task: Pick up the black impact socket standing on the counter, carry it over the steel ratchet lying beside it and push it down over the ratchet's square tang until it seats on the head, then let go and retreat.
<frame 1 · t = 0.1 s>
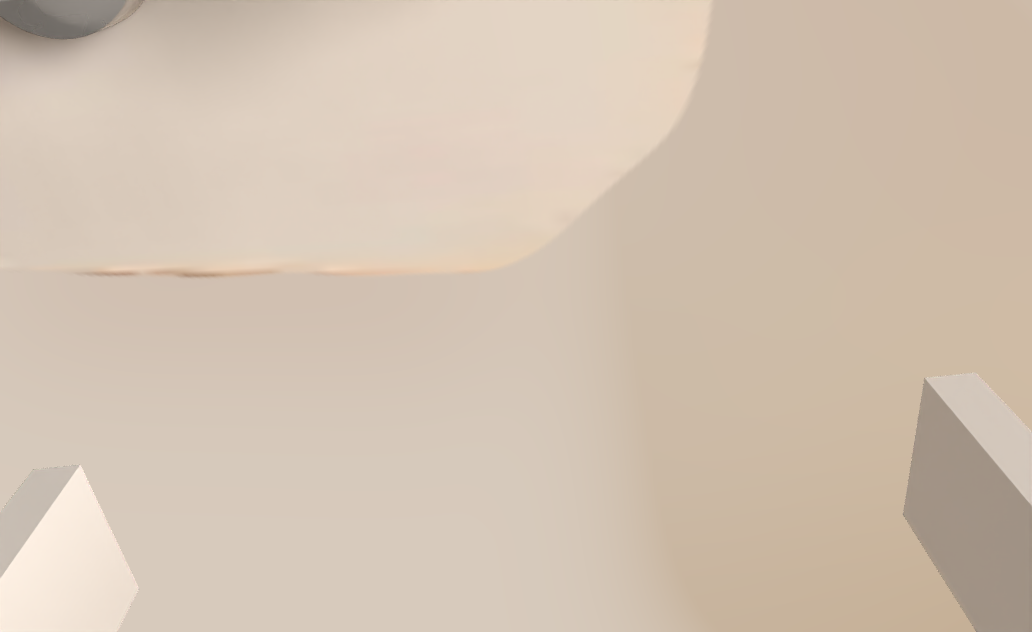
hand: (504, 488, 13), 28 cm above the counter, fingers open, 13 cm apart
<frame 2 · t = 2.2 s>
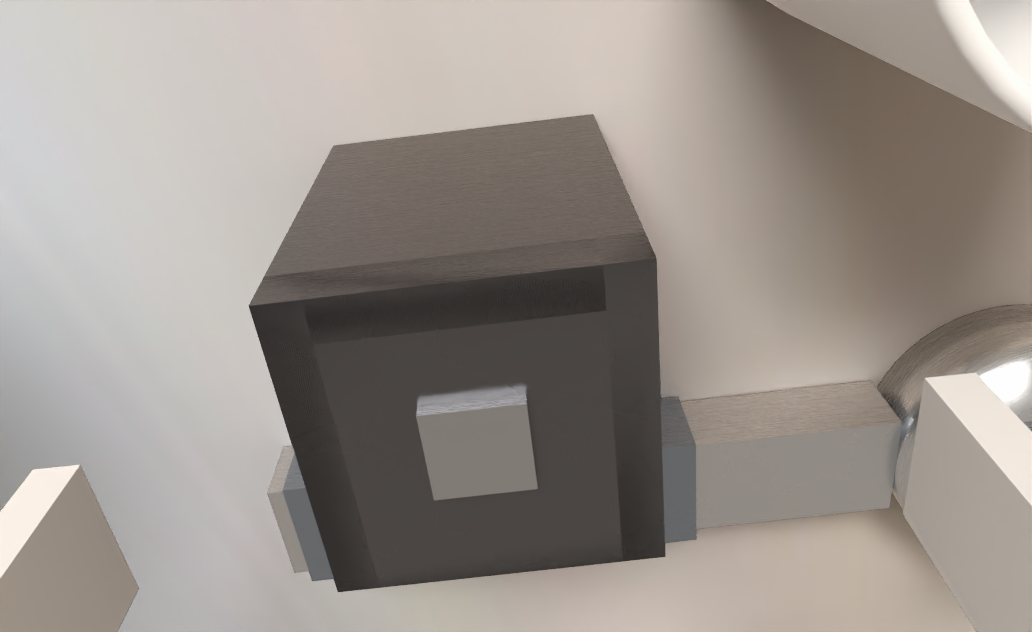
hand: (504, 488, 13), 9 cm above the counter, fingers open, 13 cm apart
socket: (480, 248, 21), on the counter
ratchet: (985, 409, 24), on the counter
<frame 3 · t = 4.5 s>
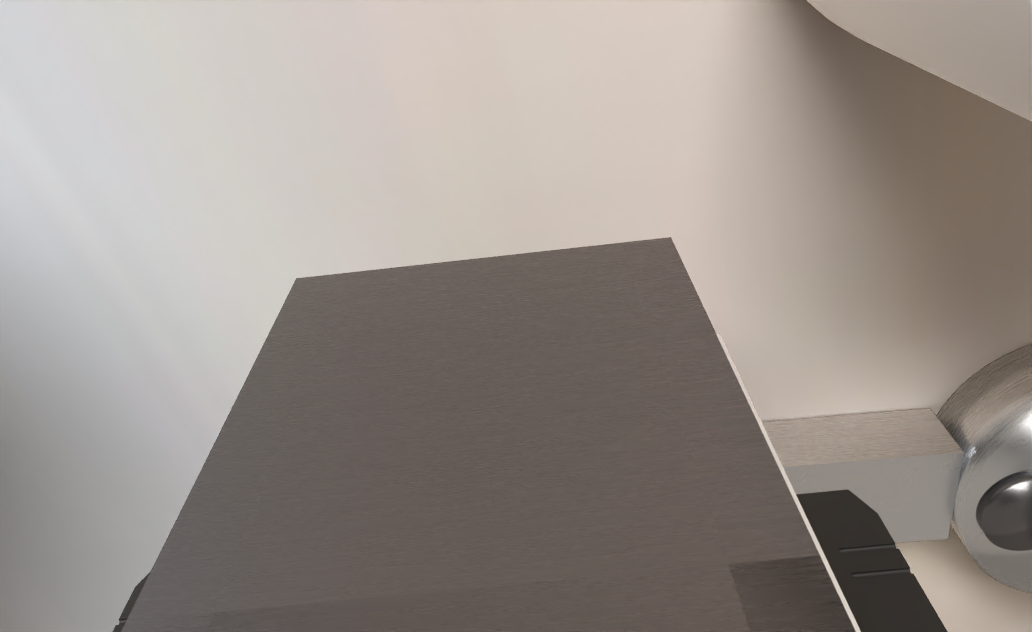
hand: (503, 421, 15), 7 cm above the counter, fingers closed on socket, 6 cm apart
socket: (504, 411, 15), point 7 cm above the counter, touching gripper
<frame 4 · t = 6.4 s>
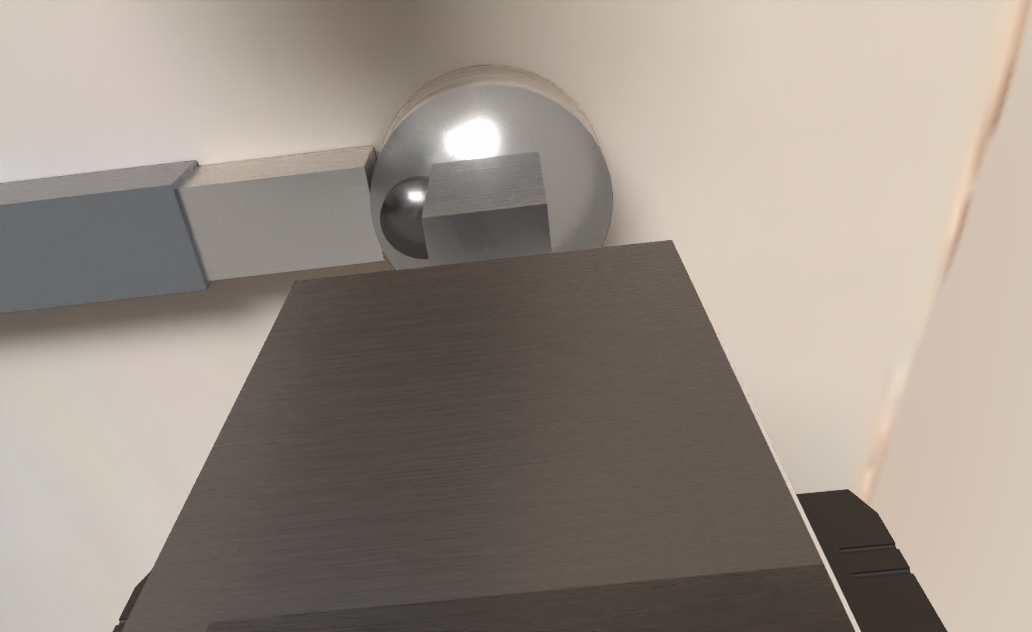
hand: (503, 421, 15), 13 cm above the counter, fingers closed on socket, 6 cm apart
socket: (504, 414, 15), point 13 cm above the counter, touching gripper
ratchet: (491, 178, 26), on the counter
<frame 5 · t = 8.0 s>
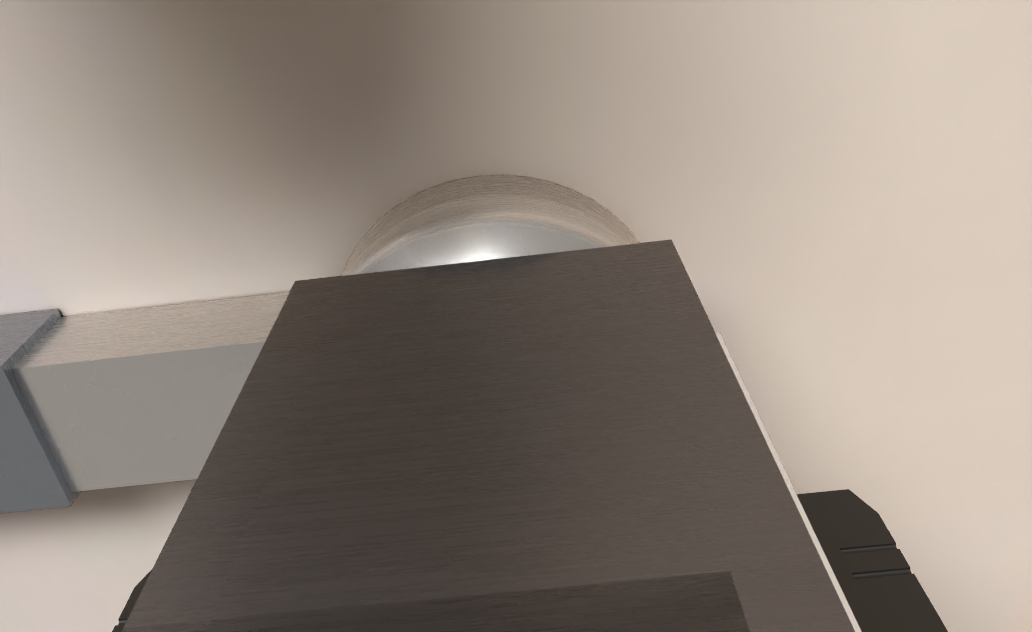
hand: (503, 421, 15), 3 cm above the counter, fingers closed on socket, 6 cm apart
socket: (504, 414, 15), point 3 cm above the counter, touching gripper, ratchet
ratchet: (500, 332, 17), on the counter
when the fingers open (3 cm above the counter, at t = 8.3 s): socket stays where it is, resting on ratchet.
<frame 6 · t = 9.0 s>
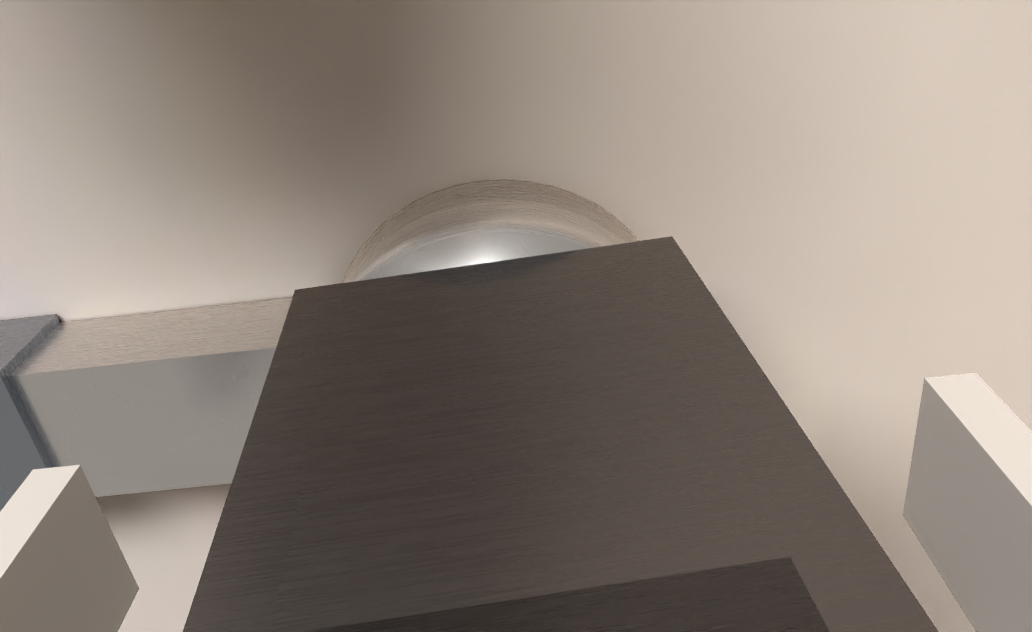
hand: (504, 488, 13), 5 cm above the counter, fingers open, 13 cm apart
socket: (507, 417, 15), point 3 cm above the counter, touching ratchet
ratchet: (503, 338, 17), on the counter
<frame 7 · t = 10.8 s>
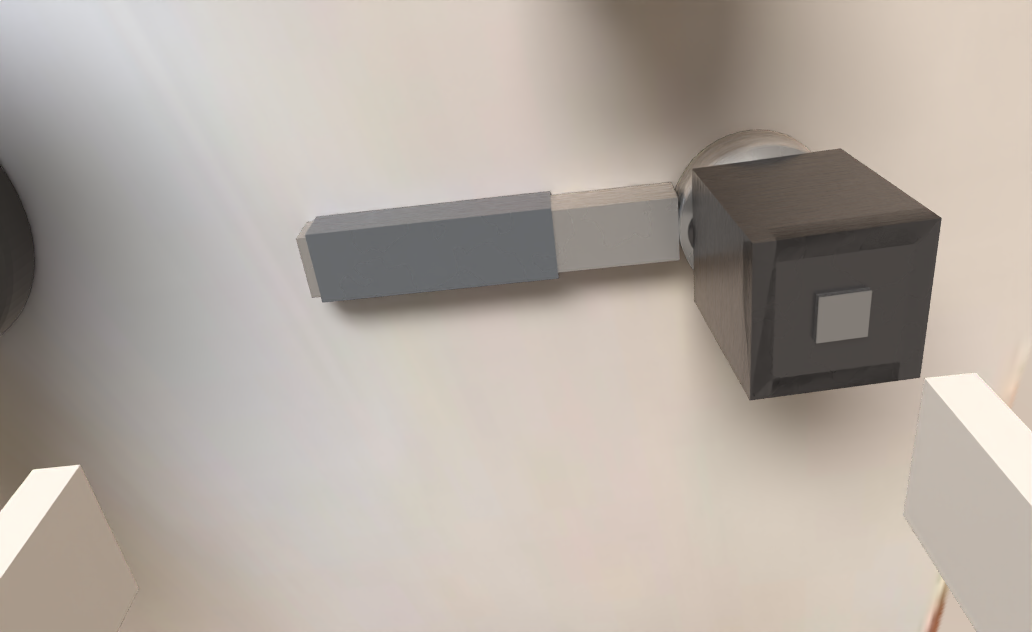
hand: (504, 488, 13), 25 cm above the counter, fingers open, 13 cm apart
socket: (764, 228, 35), point 3 cm above the counter, touching ratchet
ratchet: (748, 204, 37), on the counter
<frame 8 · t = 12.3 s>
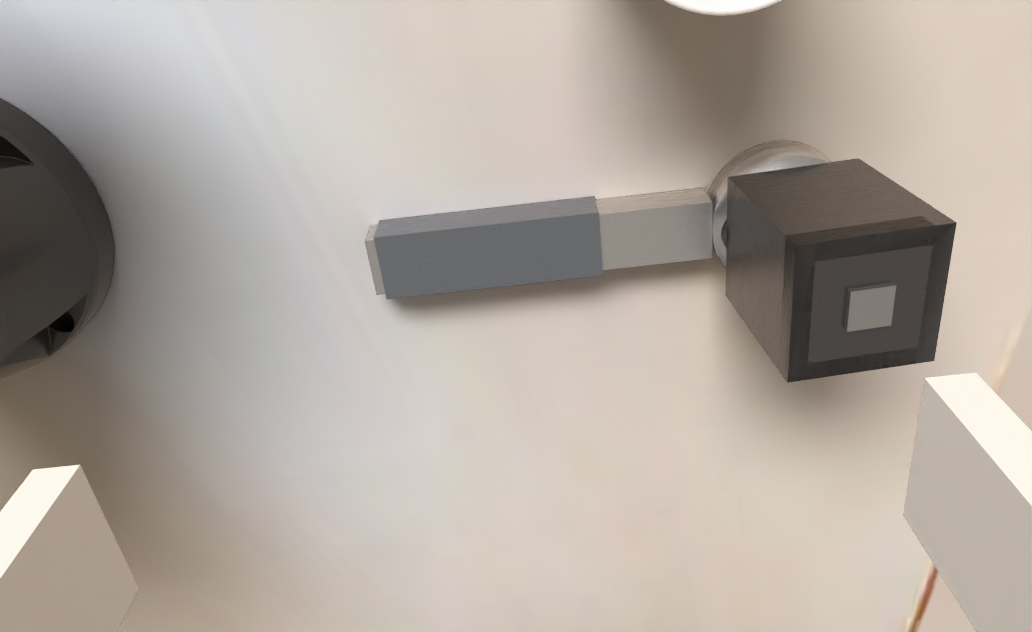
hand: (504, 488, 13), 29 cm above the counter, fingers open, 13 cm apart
socket: (789, 229, 39), point 3 cm above the counter, touching ratchet
ratchet: (771, 207, 41), on the counter
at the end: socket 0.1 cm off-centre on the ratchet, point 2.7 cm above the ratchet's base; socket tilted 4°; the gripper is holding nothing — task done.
